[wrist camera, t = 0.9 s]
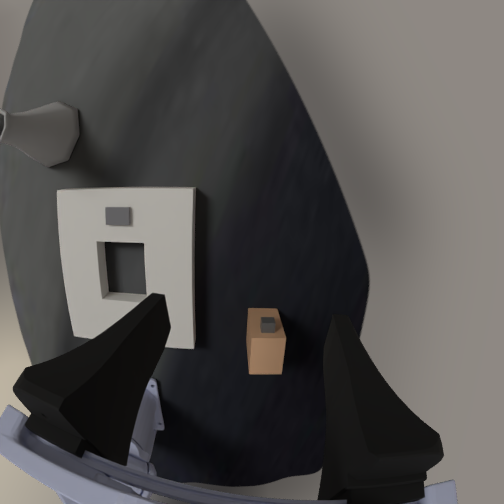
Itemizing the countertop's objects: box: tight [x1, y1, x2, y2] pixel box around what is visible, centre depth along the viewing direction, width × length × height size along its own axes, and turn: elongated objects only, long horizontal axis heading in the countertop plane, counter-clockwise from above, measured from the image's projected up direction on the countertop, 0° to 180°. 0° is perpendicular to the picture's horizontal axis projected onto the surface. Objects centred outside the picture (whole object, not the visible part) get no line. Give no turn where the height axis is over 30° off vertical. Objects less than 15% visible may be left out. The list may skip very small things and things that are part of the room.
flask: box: [0, 101, 80, 167], centre depth 20 cm, size 7×7×10 cm
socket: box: [57, 187, 196, 349], centre depth 28 cm, size 16×14×2 cm
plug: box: [246, 308, 286, 374], centre depth 29 cm, size 5×3×6 cm, turn 177°
